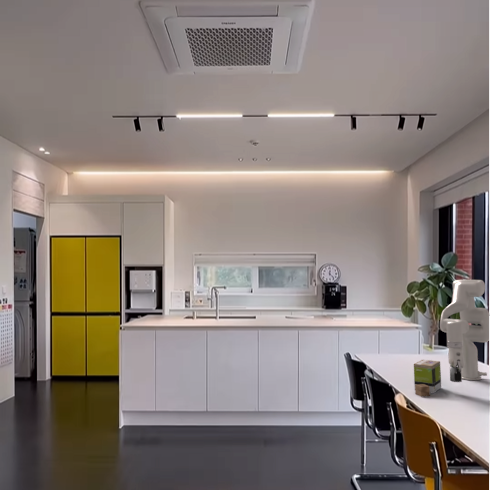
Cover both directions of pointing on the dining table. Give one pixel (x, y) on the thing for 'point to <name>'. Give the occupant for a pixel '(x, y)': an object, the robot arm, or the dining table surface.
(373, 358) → the dining table surface
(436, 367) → the tea box
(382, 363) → the dining table surface
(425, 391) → the walnut block
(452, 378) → the grey upright cylinder
